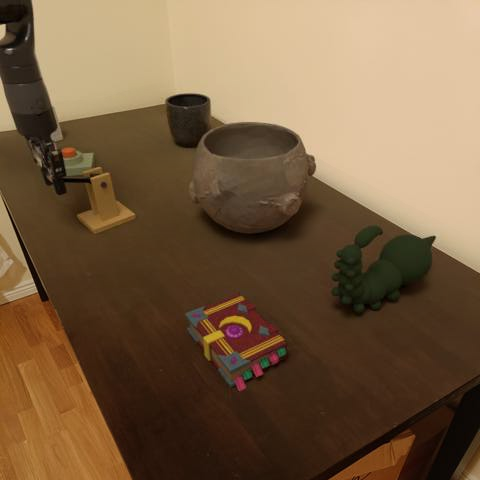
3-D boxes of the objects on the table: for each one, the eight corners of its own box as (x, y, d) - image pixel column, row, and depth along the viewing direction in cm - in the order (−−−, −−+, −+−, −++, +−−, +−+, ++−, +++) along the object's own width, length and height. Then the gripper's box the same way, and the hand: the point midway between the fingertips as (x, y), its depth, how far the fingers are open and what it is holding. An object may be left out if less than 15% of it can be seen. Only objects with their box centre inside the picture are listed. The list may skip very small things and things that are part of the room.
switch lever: (54, 188, 90) (55, 177, 89) (45, 180, 93) (45, 169, 92) (108, 189, 98) (109, 179, 97) (98, 181, 101) (98, 171, 100)
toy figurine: (352, 337, 78) (444, 281, 86) (366, 255, 64) (474, 197, 73) (318, 308, 84) (407, 258, 92) (324, 227, 70) (429, 176, 78)
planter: (188, 131, 147) (185, 90, 138) (221, 140, 141) (219, 98, 132) (160, 144, 138) (155, 101, 129) (193, 154, 132) (190, 110, 124)
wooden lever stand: (94, 234, 100) (82, 187, 92) (78, 219, 105) (64, 173, 97) (136, 218, 105) (127, 172, 97) (118, 204, 110) (108, 159, 102)
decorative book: (240, 309, 81) (240, 289, 78) (291, 364, 71) (294, 344, 68) (186, 332, 77) (184, 311, 73) (233, 394, 67) (233, 374, 63)
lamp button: (62, 159, 122) (60, 153, 120) (64, 154, 124) (62, 147, 123) (75, 158, 122) (74, 152, 121) (76, 153, 125) (75, 147, 123)
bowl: (172, 242, 97) (160, 156, 84) (219, 187, 117) (216, 109, 103) (287, 267, 91) (295, 177, 77) (317, 204, 110) (328, 123, 96)
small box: (56, 135, 144) (46, 101, 137) (64, 139, 141) (54, 105, 134) (33, 141, 140) (21, 107, 133) (41, 146, 137) (30, 111, 130)
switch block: (49, 177, 121) (45, 163, 119) (54, 162, 128) (50, 149, 126) (93, 174, 123) (89, 160, 120) (95, 159, 130) (92, 146, 127)
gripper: (-3, 100, 83) (27, 182, 95) (24, 120, 76) (53, 207, 87) (35, 92, 87) (59, 173, 99) (65, 111, 79) (87, 195, 91)
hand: (56, 188), depth 93 cm, fingers closed on switch lever, 5 cm apart
